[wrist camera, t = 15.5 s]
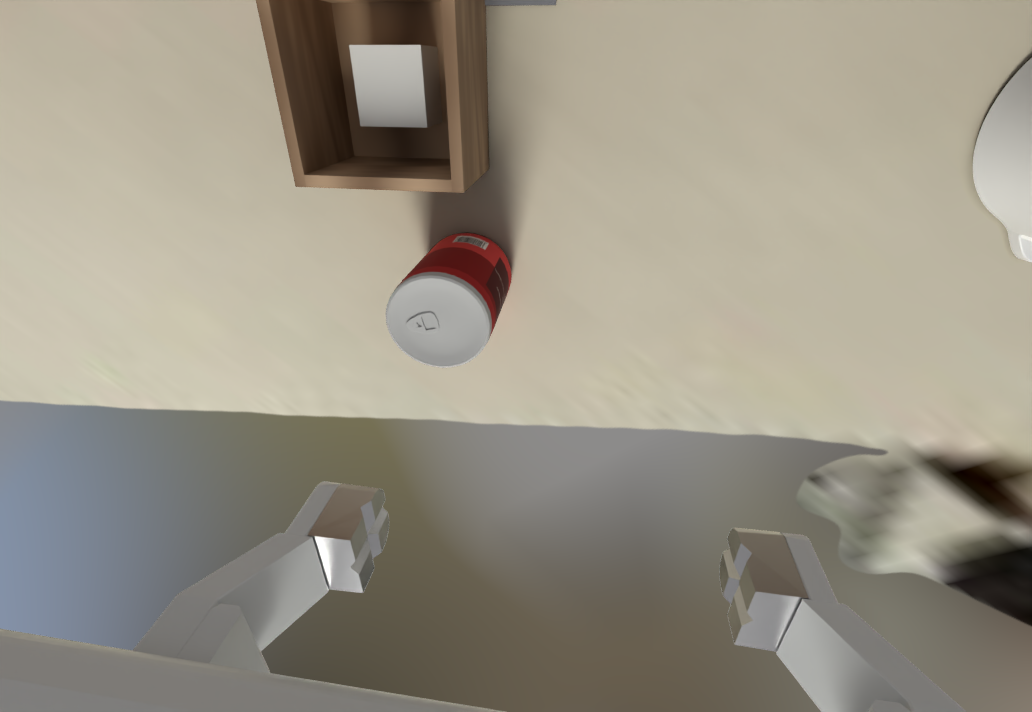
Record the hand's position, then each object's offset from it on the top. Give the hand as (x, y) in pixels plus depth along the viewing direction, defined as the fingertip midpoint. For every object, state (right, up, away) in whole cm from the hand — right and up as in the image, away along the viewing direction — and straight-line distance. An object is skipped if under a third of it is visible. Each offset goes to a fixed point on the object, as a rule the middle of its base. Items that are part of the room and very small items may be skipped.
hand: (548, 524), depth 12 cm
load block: (-9, +25, +26) cm, 37 cm away
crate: (-9, +25, +27) cm, 38 cm away
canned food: (-5, +12, +34) cm, 36 cm away
